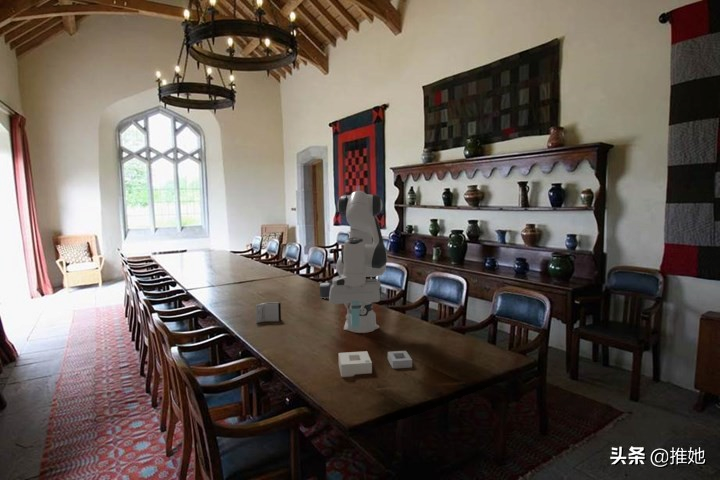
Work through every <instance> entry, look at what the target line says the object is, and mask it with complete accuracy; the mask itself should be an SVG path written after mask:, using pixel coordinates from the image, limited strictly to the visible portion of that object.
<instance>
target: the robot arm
mask: <svg viewBox="0 0 720 480" xmlns="http://www.w3.org/2000/svg"><path fill="white" fill-rule="evenodd" d="M336 206H337V207H336V208H337V210H338V213H339V214H340V216H342V217H346V222H347V223H348V225H349V229H350V230H349V234H350V237H347V238H346V239H345V240H344V242H343V243H344V244H343V248H342V249H341V251H340V252H341V256H340V257H339V259H338V260H337V261H336V264H335V265H336V266H335V269H336V271H337V273H338V275H337V276H333V278H331V280H332V283H333V284H332V285H331V287H330V293H329V298H328V301H329V303H330V304H332V305H338V304H344V307H345V309H346V311H347V314H345V319H346V320H345V322H344V326H343V330H344V331H349V332H351V333H356V334H357V333H358V334H361V333H362V334H365V333H366V334H367V333H370V332H374V331H375V330H378V329H379V328H380V326H379V324H377V319H376V318H377V317H376V315H377V314H376V312H375V311H374V310H373V307H374V305H373V304H374V303H378V302H380V301H381V290H380V289H381V287H382V286H381V280H380V279H377V278H374V277H380V276H382V275H384V273H385V272H386V270H387V269H386V268H387V262H388V251H387V249H386V245H385V243H384V239H383V235H382V230H381V226H380V223H379V220H378V218H377V216H379V215H380V214H381V213H382V210H383V207H384V206H383V200H382V198H381V196H380V195H378V194H370V193H369V194H367V193H366V192H365V191H362V190H356V191H353V192H351V194H345V195H341V196H340V197H339V198H338V201H337V205H336ZM366 277H367V278H366ZM369 277H370V278H369ZM352 302H359V305H360V308H359V318H360V327H352V326H351V306H350V303H352ZM348 306H349V307H348Z"/></svg>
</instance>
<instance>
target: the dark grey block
mask: <svg viewBox="0 0 720 480" xmlns="http://www.w3.org/2000/svg"><path fill="white" fill-rule="evenodd" d="M332 284H333V283H332V279H329V280H328V282H321V283H320V284H319V287H318V290H319V297H320V299H322V298H324V299H323V300H325V299H326V298H327V299H329V293H330V287H331V285H332Z"/></svg>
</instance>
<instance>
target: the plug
mask: <svg viewBox="0 0 720 480" xmlns="http://www.w3.org/2000/svg"><path fill="white" fill-rule="evenodd" d="M350 306H351V326H352V327H360V318H359V308H360V305H359V302H352V303H349V307H350Z"/></svg>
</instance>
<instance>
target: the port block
mask: <svg viewBox="0 0 720 480" xmlns="http://www.w3.org/2000/svg"><path fill="white" fill-rule="evenodd" d="M338 368H339V373H340V376H341V377H340V378H349V377H355V375H363V374H367V375H368V374H373V362H372V360H371V357H370V355H369V353H368V351H367V350H366V351H351V352H350V351H349V352H348V351H347V352H346V351H345V352H338Z"/></svg>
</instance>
